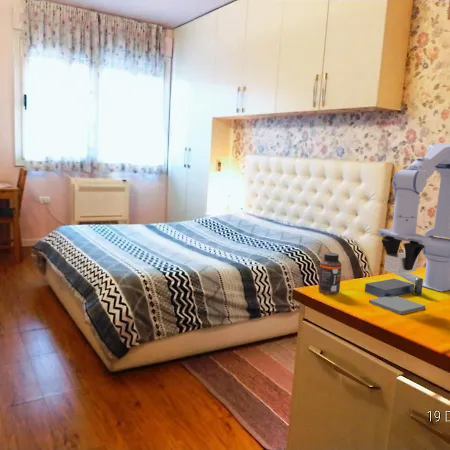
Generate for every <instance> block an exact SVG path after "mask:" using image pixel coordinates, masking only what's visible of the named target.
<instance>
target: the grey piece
mask: <svg viewBox="0 0 450 450" xmlns="http://www.w3.org/2000/svg"><path fill="white" fill-rule="evenodd" d="M414 289H415V284H413V283H411V282H409V281H404V280H400V279H397V278H390V279H384V280H377V281H371V282H366V283H365V286H364V292H365V293H367V294H369V295H373V296H376V297H377V298H381V297H386V296H391V295H395V296H398V297H400V296H405V295H409V294H414Z"/></svg>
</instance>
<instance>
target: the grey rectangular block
mask: <svg viewBox="0 0 450 450" xmlns="http://www.w3.org/2000/svg"><path fill="white" fill-rule="evenodd" d="M417 262H418V258H417V259H416V261H415V263H414V266H413V268H412V270H405V252H398V253H395V254H387V253H386V254H385V255H384V266H383V270H384V271H388V272H390V271H391V272H390V273H392V272H395V273H398V274H399V273H406V272H410V273H412V272H416V271H417V270H416V269H417V264H418V263H417Z"/></svg>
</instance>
